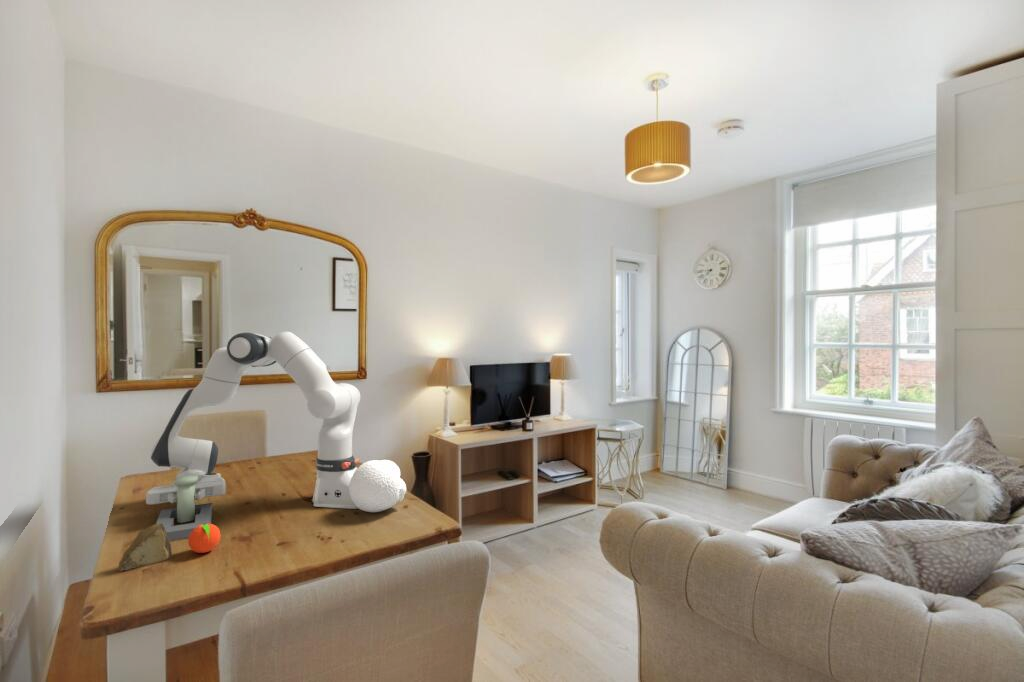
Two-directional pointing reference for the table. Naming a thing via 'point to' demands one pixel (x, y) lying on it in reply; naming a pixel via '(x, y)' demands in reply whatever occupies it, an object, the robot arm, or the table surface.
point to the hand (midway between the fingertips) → (185, 498)
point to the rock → (147, 548)
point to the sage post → (185, 497)
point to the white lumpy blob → (376, 486)
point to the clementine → (204, 538)
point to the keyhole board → (184, 531)
